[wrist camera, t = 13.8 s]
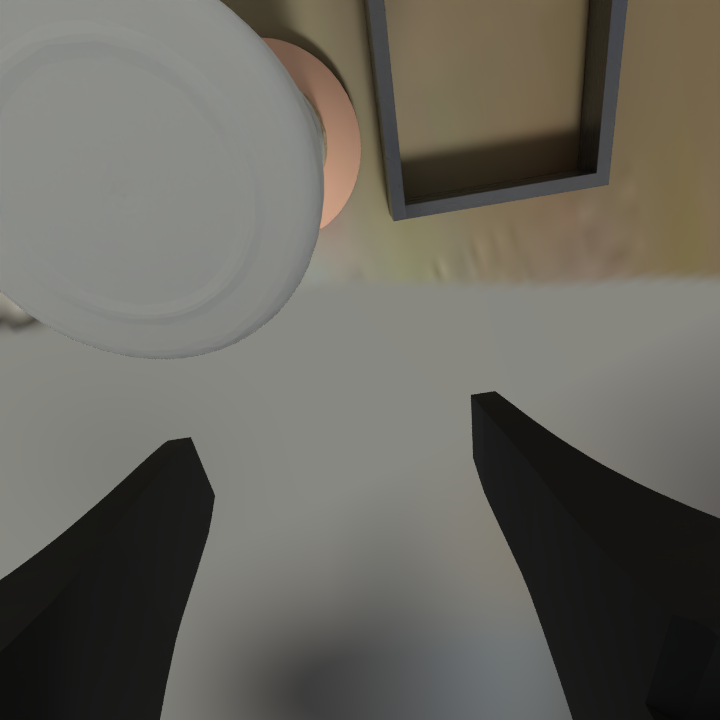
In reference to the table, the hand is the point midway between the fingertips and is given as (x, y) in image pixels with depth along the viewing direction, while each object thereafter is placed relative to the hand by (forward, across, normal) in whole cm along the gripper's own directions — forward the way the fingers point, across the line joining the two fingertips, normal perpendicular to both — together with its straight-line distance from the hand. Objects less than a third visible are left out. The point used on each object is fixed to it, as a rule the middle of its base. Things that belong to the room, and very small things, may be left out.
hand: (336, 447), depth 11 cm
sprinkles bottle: (+10, +1, -7) cm, 12 cm away
